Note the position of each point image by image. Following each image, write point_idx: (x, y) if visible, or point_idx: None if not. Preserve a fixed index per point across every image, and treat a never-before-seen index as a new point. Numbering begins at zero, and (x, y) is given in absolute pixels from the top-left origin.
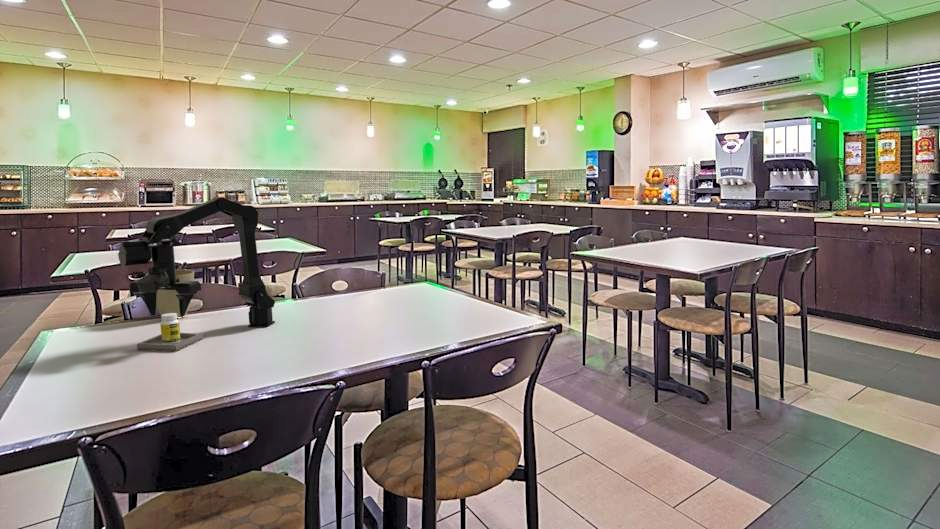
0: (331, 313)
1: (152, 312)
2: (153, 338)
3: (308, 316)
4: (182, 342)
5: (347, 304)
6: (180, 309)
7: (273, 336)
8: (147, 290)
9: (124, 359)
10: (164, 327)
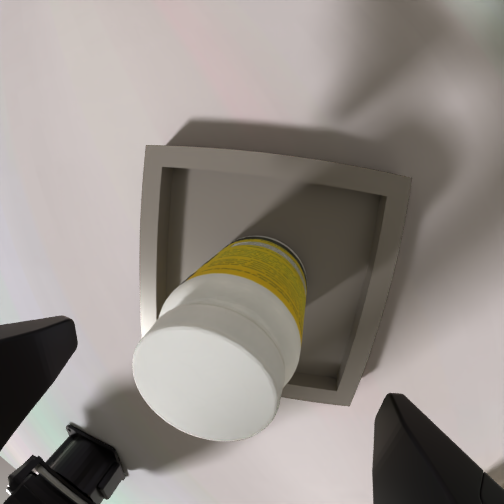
0: None
1: (393, 417)
2: (368, 297)
3: None
4: (141, 202)
5: None
6: (10, 332)
7: None
8: None
9: (358, 24)
10: (237, 265)
